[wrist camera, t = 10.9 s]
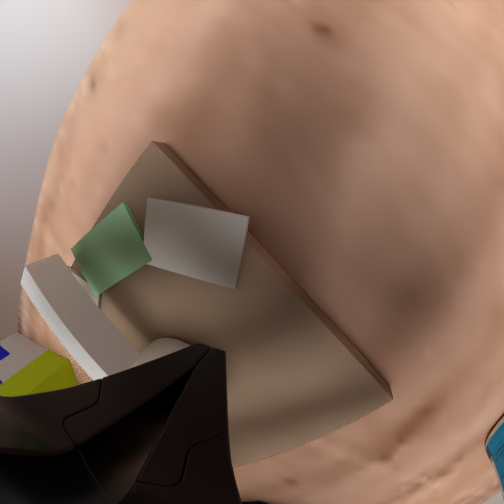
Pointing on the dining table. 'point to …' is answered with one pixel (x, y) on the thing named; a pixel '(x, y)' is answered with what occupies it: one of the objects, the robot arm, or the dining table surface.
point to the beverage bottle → (497, 451)
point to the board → (223, 308)
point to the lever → (85, 322)
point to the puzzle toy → (31, 368)
